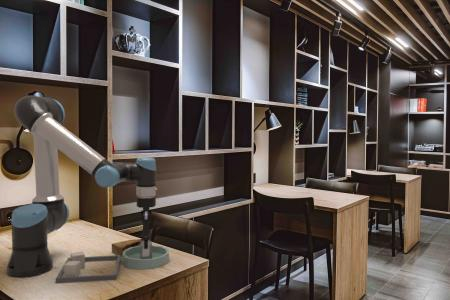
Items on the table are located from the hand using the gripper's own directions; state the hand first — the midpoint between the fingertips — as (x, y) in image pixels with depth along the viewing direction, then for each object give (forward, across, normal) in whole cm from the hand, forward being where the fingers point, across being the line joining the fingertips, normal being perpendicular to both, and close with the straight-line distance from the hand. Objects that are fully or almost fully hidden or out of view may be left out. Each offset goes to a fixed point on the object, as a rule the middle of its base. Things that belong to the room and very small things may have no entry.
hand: (145, 252), depth 151 cm
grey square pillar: (+2, 0, 0) cm, 2 cm away
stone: (+4, +12, +6) cm, 14 cm away
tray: (+3, -7, +20) cm, 21 cm away
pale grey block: (+4, -2, +26) cm, 26 cm away
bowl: (+3, 0, 0) cm, 3 cm away
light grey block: (+4, -12, +26) cm, 29 cm away
